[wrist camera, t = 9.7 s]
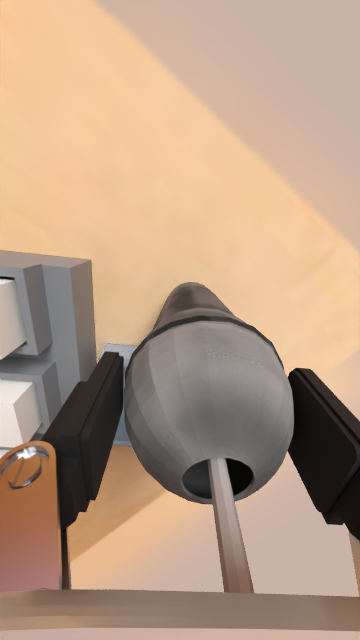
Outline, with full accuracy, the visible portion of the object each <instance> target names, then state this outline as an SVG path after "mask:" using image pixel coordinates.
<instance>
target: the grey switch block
mask: <svg viewBox="0 0 360 640" xmlns="http://www.w3.org/2000/svg"><path fill="white" fill-rule="evenodd" d="M96 365H97V362H96V343H95V324H94V305H93V286H92V267H91V260H87V259H78V258H68V257H59V256H50V255H40V254H31V253H22V252H12V251H3V250H0V450H12V449H13V448H15V447H16V446H19V445H21V444H24V443H26V442H31V441H40V440H41V439H42V437H43V436H44V434H45V433H46V431H47V429H48V428H49V426H50V425H51V423H52V422H53V420H54V419H55V417H56V416H57V414H58V412H59V411H60V409H61V408H62V406H63V405H64V403H65V402H66V400H67V398H68V397H69V395H70V394H71V392H72V391H73V389H74V388H75V386H76V385H77V383H78V382H80V381H86V382H87V381H88V379H89V377H90V376H91V374H92V372H93V371H94V369H95V367H96Z"/></svg>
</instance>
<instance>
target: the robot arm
mask: <svg viewBox="0 0 360 640" xmlns="http://www.w3.org/2000/svg"><path fill="white" fill-rule="evenodd" d="M288 380H289V383H290V386H291V389H292V396H293V409H294V429H293V436H292V439H291V442H290V445H289V448H288V450H287V451H288V453H289V455H290V457H291V459H292V461H293V463H294V465H295V467H296V469H297V471H298V473H299V475H300V477H301V479H302V481H303V483H304V485H305V487H306V489H307V491H308V494H309V496H310V498H311V499H312V502H313V504H314V506H315V507H316V509H317V510H318V511H319V512H321V513H322V515H323V517H324V519H325V521H326V523H327V524H334V525H342V524H343V523H345V525H346V526H347V528H348V530H349V538H350V543H351V549H352V555H353V561H354V567H355V573H356V579H357V585H358V591H359V596H360V421H359V420H358V419H357V418H356V417H355V416H354V415H353V414H352V413H351V412H350V411H349V410H348V409H347V407H346V406H345V405H344V404H343V403H342V402H341V401H340V400H339V399H338V398H337V397H336V396H335V395H334V394H333V392H332V391H331V390H330V389H329V388H328V387H327V386H326V385H325V384H324V383H323V382H322V381H321V380H320V378H319V377H318V376H317V375H316V374H315V373H314V372H313V371H312V370H311V369H305V368H295V369H294V370H293V371H291V372H290V373H289V376H288ZM123 398H124V357H123V356H119V352H109V351H105V352H104V354H103V355H102V357H101V359H100V360H99V362H98V364H97V365H96V367H95V369H94V371H93V372H92V374H91V376H90V377H89V379H88V381H87V382H86V381H80V382H78V383H77V385H76V386H75V388H74V389H73V391H72V392H71V394H70V395H69V397H68V398H67V400H66V402H65V403H64V405H63V406H62V408H61V409H60V411H59V412H58V414H57V416H56V417H55V419H54V420H53V422H52V423H51V425H50V426H49V428H48V429H47V431H46V433H45V434H44V436H43V437H42V439H41V440H40V441H31V442H26V443H24V444H21V445H19V446H16V447H15V448H13V449H12V450H10V451H8V452H7V453H6V454H4V455H3V456H2V457H1V458H0V640H360V597H343V596H314V595H285V594H254V593H222V592H183V591H146V590H71V574H70V556H69V539H68V526H70V525H71V524H72V523H73V522H75V521H76V518H77V516H78V513H79V512H86V511H87V508H88V505H89V502H90V500H95V499H96V497H97V494H98V491H99V488H100V484H101V481H102V478H103V474H104V471H105V468H106V464H107V461H108V458H109V454H110V451H111V448H112V445H113V441H114V438H115V435H116V431H117V428H118V425H119V421H120V418H121V415H122V411H123Z"/></svg>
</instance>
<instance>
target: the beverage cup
mask: <svg viewBox="0 0 360 640" xmlns="http://www.w3.org/2000/svg"><path fill="white" fill-rule="evenodd" d="M124 419H125V426H126V431H127V434H128V437H129V439H130V442H131V444H132V446H133V449H134V451H135V453H136V455H137V457H138V459H139V461H140V462H141V464H142V465H143V467H144V468H145V470H146V471H147V472H148V473H149V474H150V475H151V476H152V477H153V478H154V479H155V480H157V481H158V482H159V483H160V484H161V485H162V486H163V487H164V488H165V489H166V490H168V491H170V492H172V493H174V494H176V495H178V496H180V497H182V498H185V499H186V500H188V501H192V502H197V503H200V504H213V508H214V516H215V524H216V531H217V539H218V546H219V554H220V562H221V570H222V577H223V585H224V593H254V589H253V585H252V580H251V575H250V571H249V567H248V562H247V557H246V552H245V548H244V543H243V538H242V534H241V529H240V525H239V520H238V515H237V511H236V506H235V501H238V500H241V499H243V498H246V497H248V496H250V495H251V494H253V493H254V492H256V491H258V490H259V489H260V488H261V487H263V486H264V485H265V484H266V483H267V482H268V481H269V480H270V479H271V478H272V477H273V475H274V474H275V473H276V472H277V470H278V469H279V467H280V466H281V464H282V463H283V460H284V458H285V455H286V453H287V450H288V448H289V445H290V442H291V439H292V436H293V429H294V409H293V396H292V389H291V386H290V383H289V380H288V378H287V376H286V374H285V372H284V367H283V364H282V361H281V359H280V357H279V355H278V353H277V351H276V349H275V348H274V346H273V344H272V342H271V341H269V340H268V339H267V338H266V337H265V336H264V335H263V334H261V333H260V332H259V331H258V330H257V329H256V328H255V327H253V326H251V325H248V324H246V323H245V322H243V321H242V320H240V319H239V318H237V317H236V316H234V315H233V313H232V312H231V311H230V310H229V309H228V308H227V307H226V306H225V305H224V304H223V303H222V302H221V301H220V300H219V299H218V297H217V296H216V295H215V294H214V293H213V292H211V291H210V290H209V289H208V288H206V287H205V286H204V285H202V284H199V283H194V282H188V283H184V284H181V285H179V286H178V287H176V288H175V289H174V290H173V291H172V292H171V294H170V296H169V297H168V298H167V300H166V302H165V305H164V307H163V309H162V311H161V313H160V315H159V317H158V320H157V322H156V324H155V326H154V328H153V330H152V332H151V333H150V334H149V335H148V336H147V337H146V338H145V339H144V340H143V341H142V343H141V344H140V345H139V346H138V347H137V348H136V349H135V350H134V352H133V353H132V355H131V358H130V360H129V363H128V366H127V368H126V371H125V387H124Z"/></svg>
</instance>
